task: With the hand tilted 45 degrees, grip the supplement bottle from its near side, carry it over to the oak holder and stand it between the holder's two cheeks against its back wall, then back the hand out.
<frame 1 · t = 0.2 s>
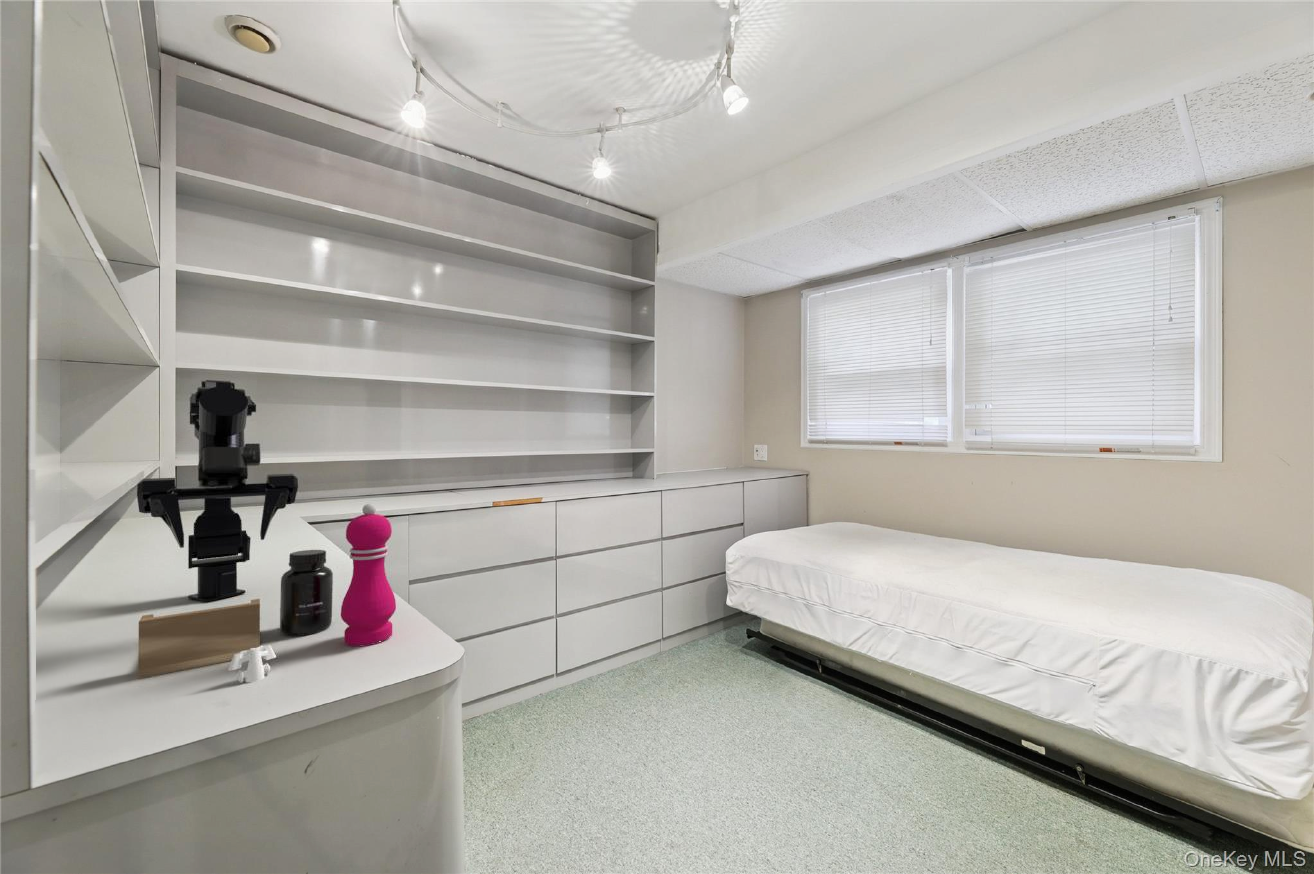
hand: (223, 542, 78), 14 cm above the worktop, tool tilted 35°, fingers open, 9 cm apart
supplement bottle: (306, 630, 83), on the worktop
pepper mill: (368, 639, 79), on the worktop
holder: (205, 651, 74), on the worktop
clip: (254, 680, 66), on the worktop
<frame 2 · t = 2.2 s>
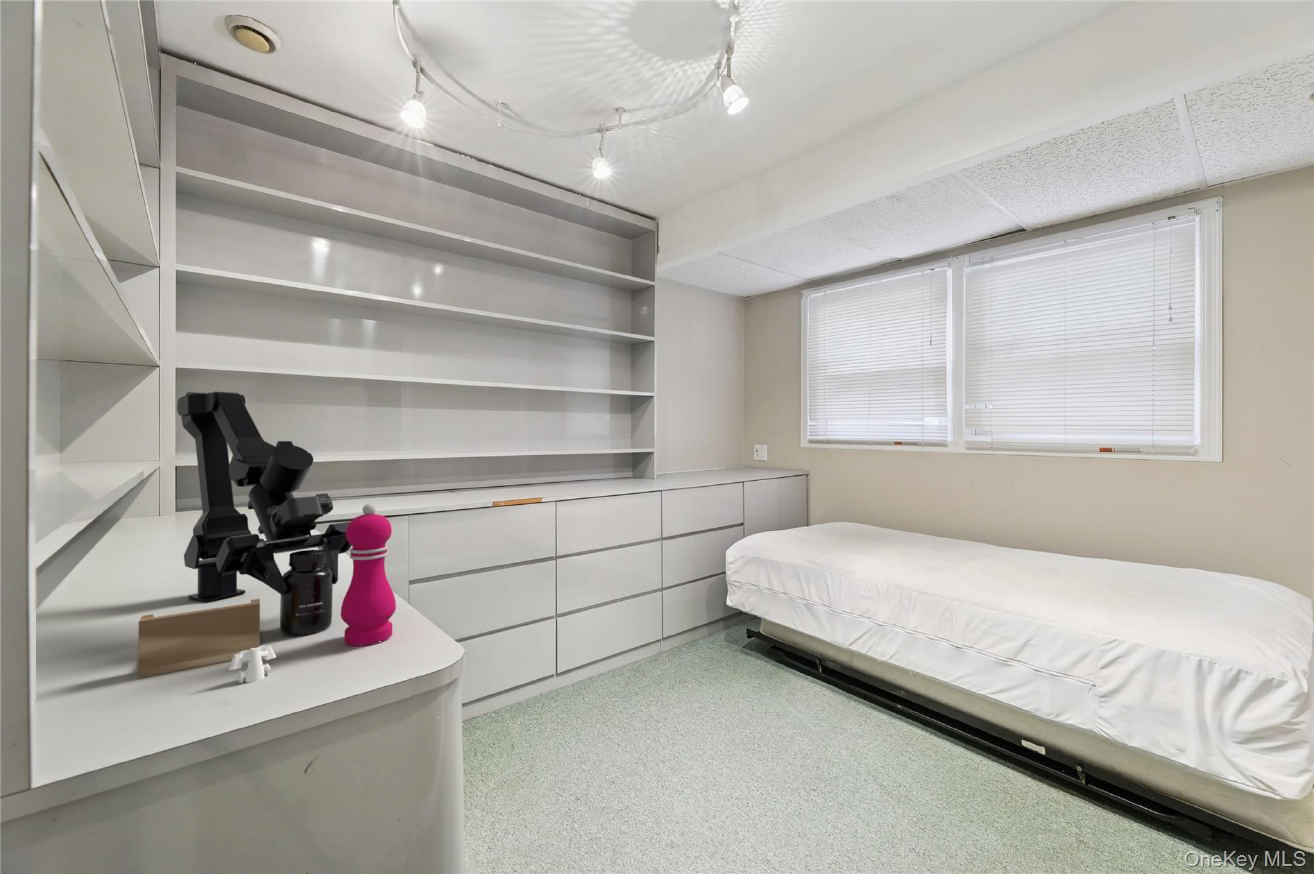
hand: (311, 587, 82), 7 cm above the worktop, tool tilted 45°, fingers closed on supplement bottle, 7 cm apart
supplement bottle: (306, 630, 83), on the worktop, touching gripper
everything else where it was.
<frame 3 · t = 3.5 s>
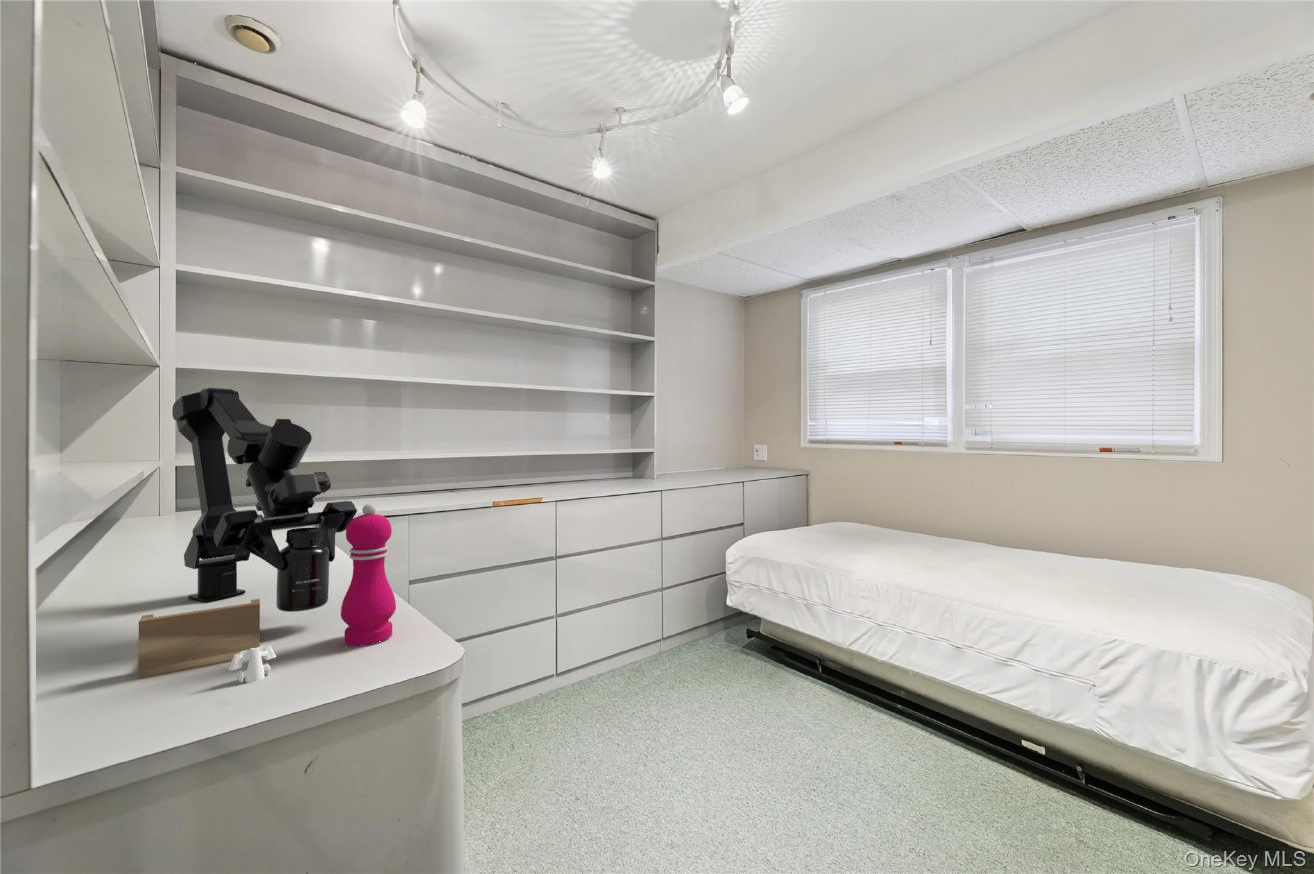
hand: (308, 564, 83), 10 cm above the worktop, tool tilted 45°, fingers closed on supplement bottle, 7 cm apart
supplement bottle: (303, 607, 84), point 3 cm above the worktop, touching gripper
everything else where it was.
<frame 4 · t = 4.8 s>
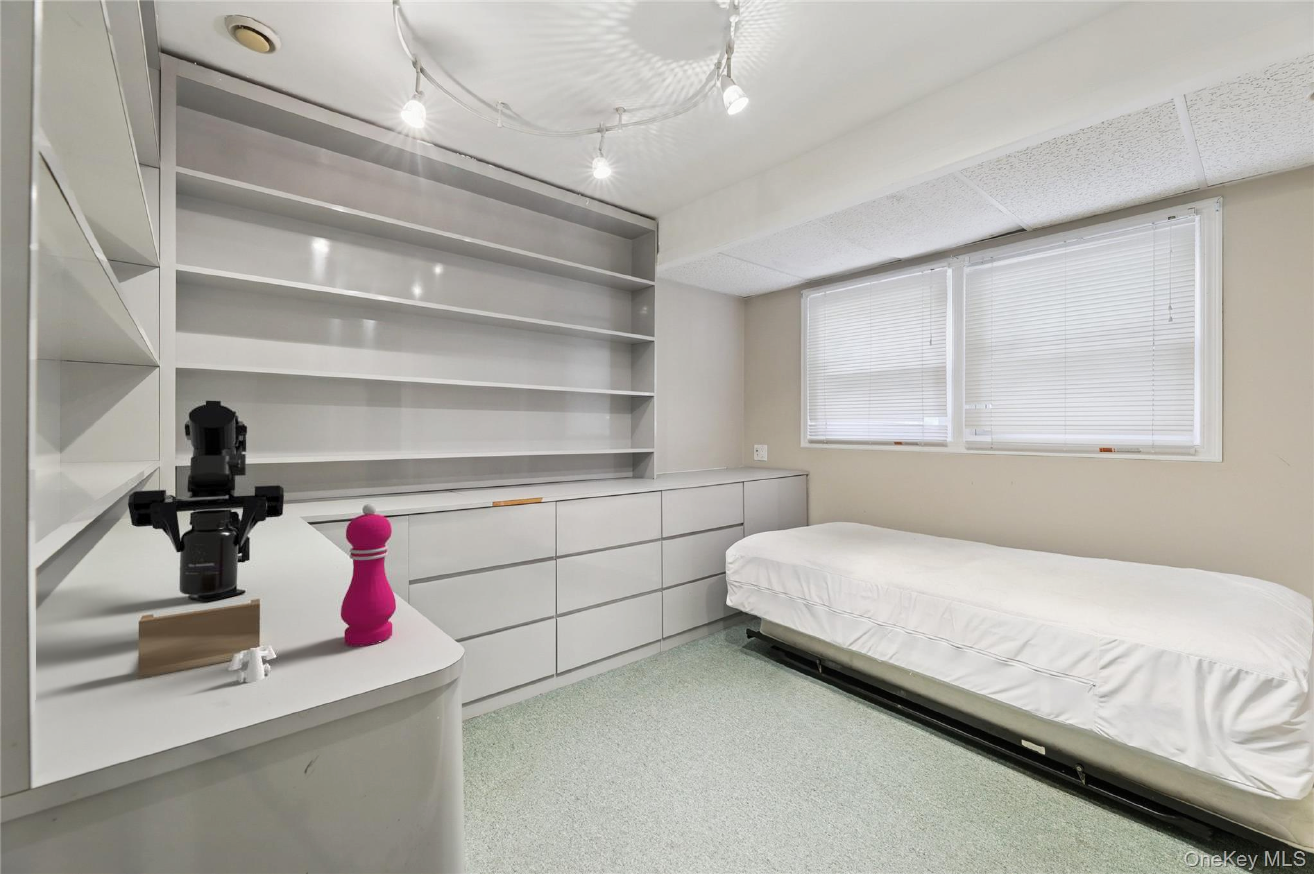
hand: (209, 547, 81), 13 cm above the worktop, tool tilted 45°, fingers closed on supplement bottle, 7 cm apart
supplement bottle: (209, 590, 82), point 6 cm above the worktop, touching gripper
everything else where it was.
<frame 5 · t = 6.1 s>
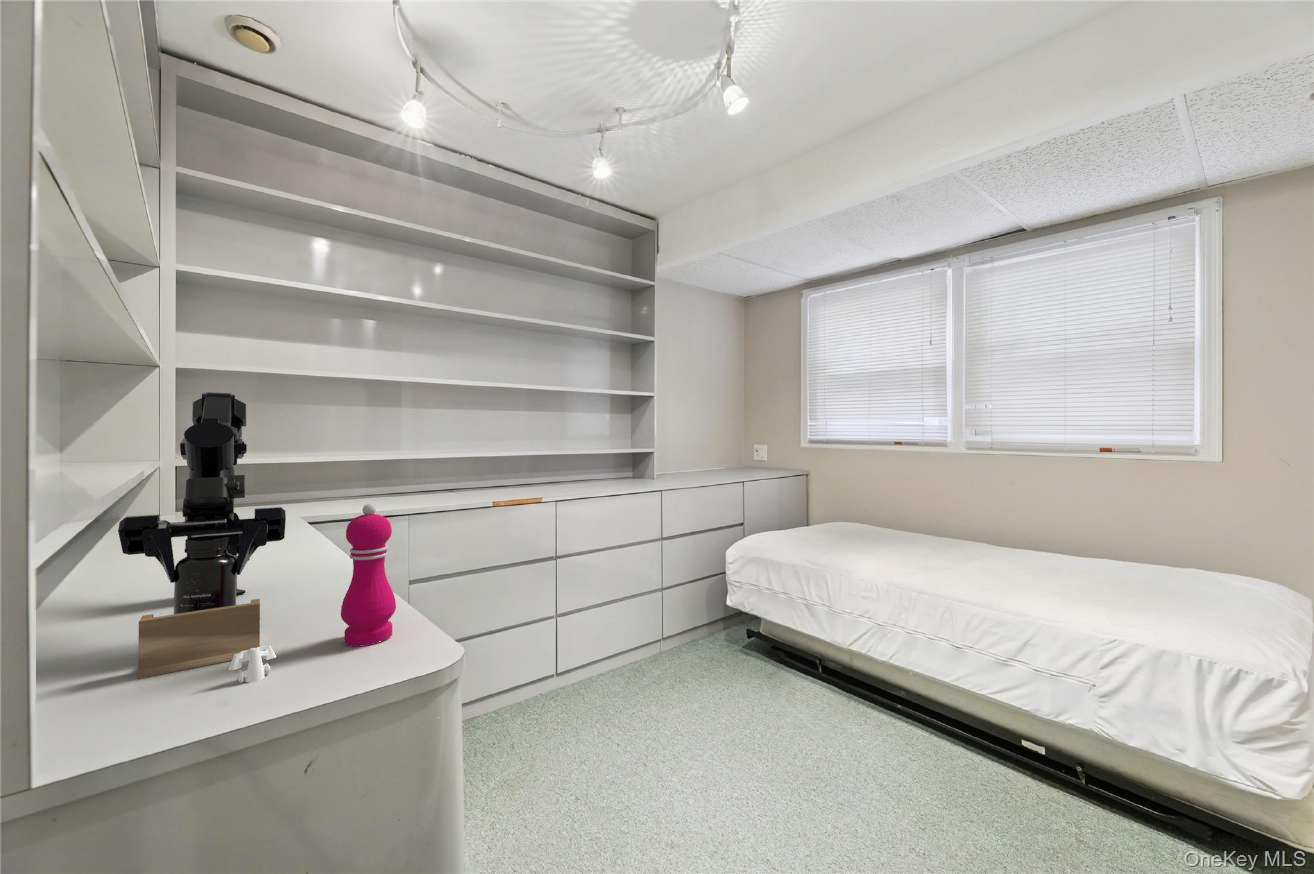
hand: (206, 577, 75), 10 cm above the worktop, tool tilted 45°, fingers closed on supplement bottle, 7 cm apart
supplement bottle: (206, 623, 76), point 3 cm above the worktop, touching gripper
everything else where it was.
when the fingers open (9 cm above the worktop, at t = 7.2 s): supplement bottle stays where it is, resting on holder.
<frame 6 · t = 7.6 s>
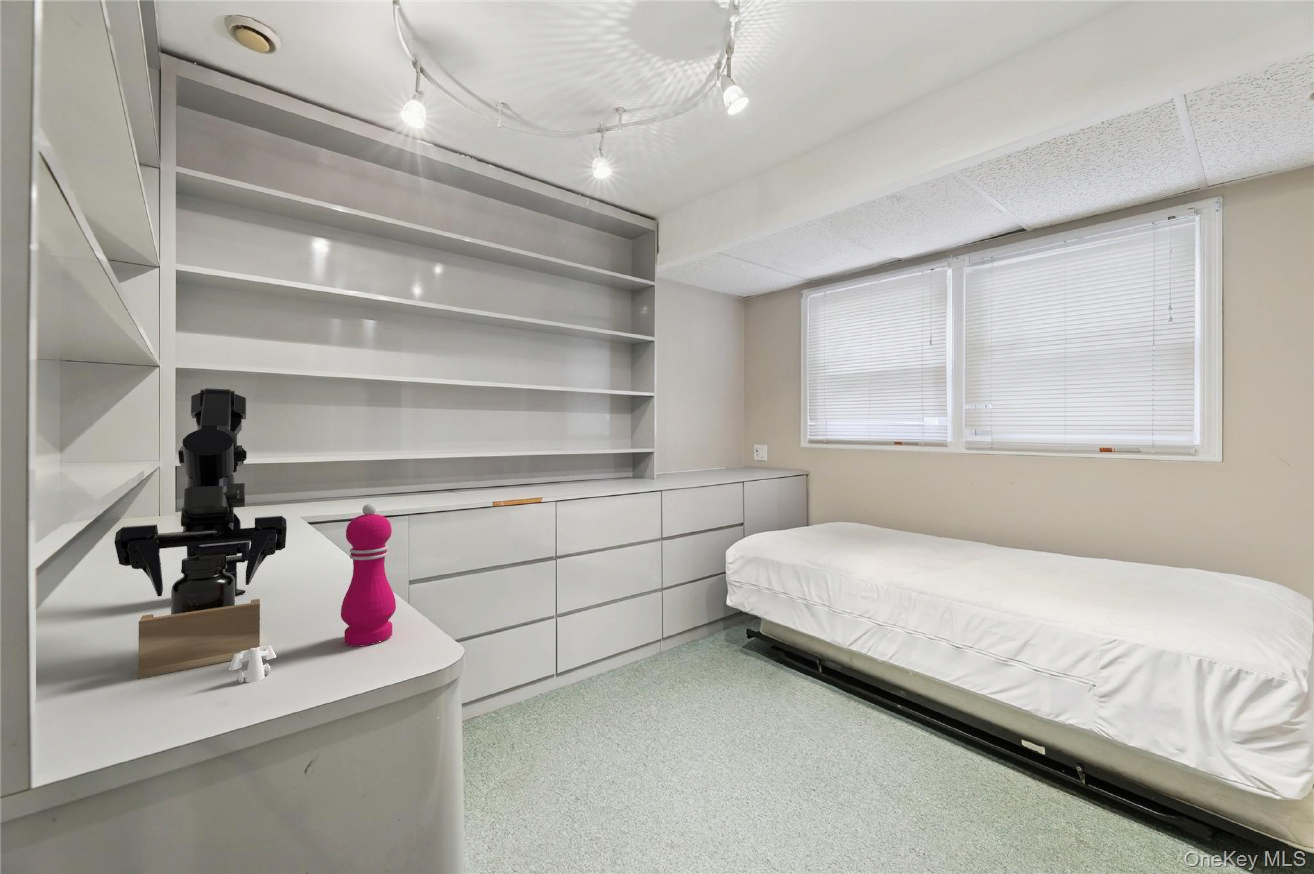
hand: (205, 588, 73), 9 cm above the worktop, tool tilted 45°, fingers open, 9 cm apart
supplement bottle: (204, 644, 74), point 1 cm above the worktop, touching holder
everything else where it was.
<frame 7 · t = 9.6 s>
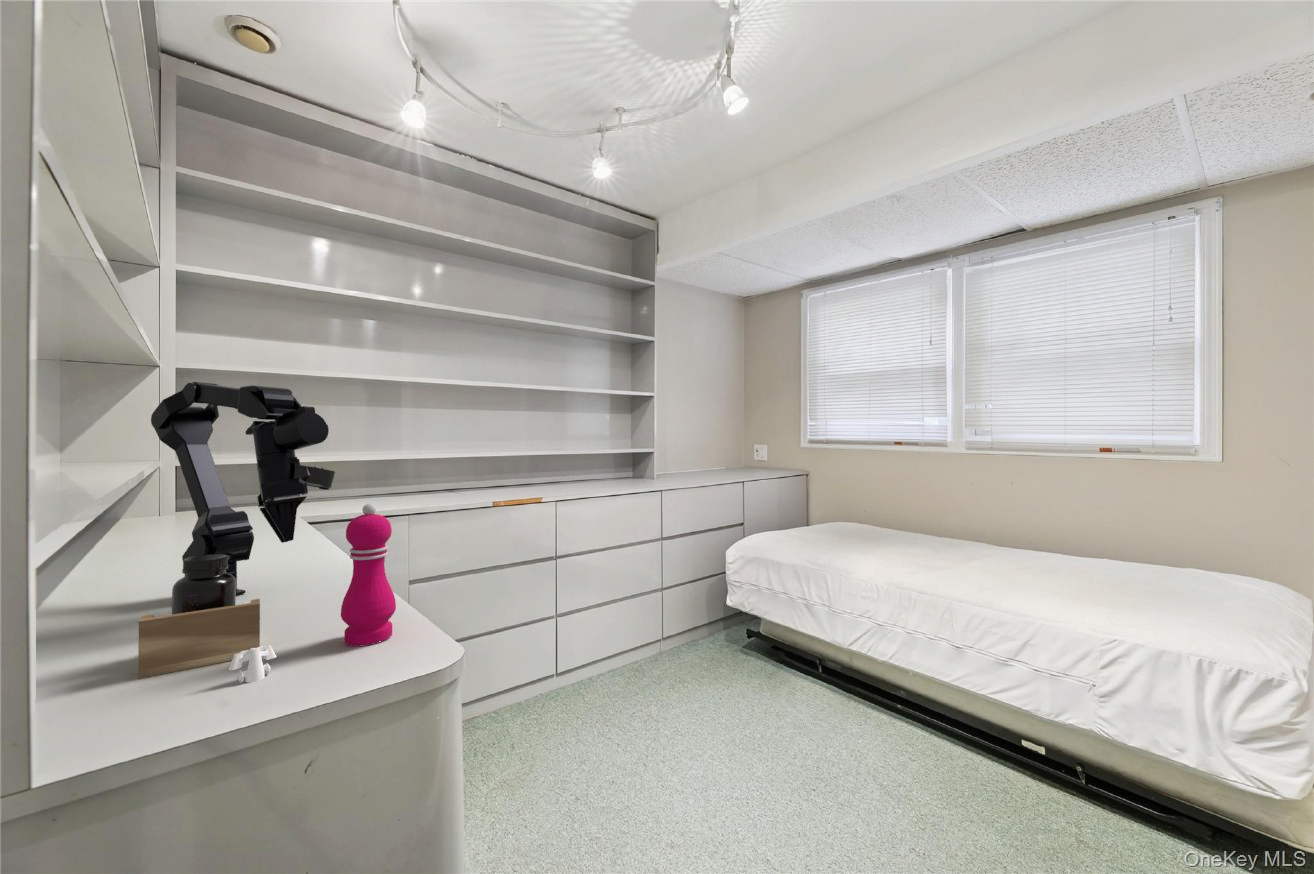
hand: (287, 541, 94), 12 cm above the worktop, tool pointing down, fingers open, 9 cm apart
nothing on the worktop moved.
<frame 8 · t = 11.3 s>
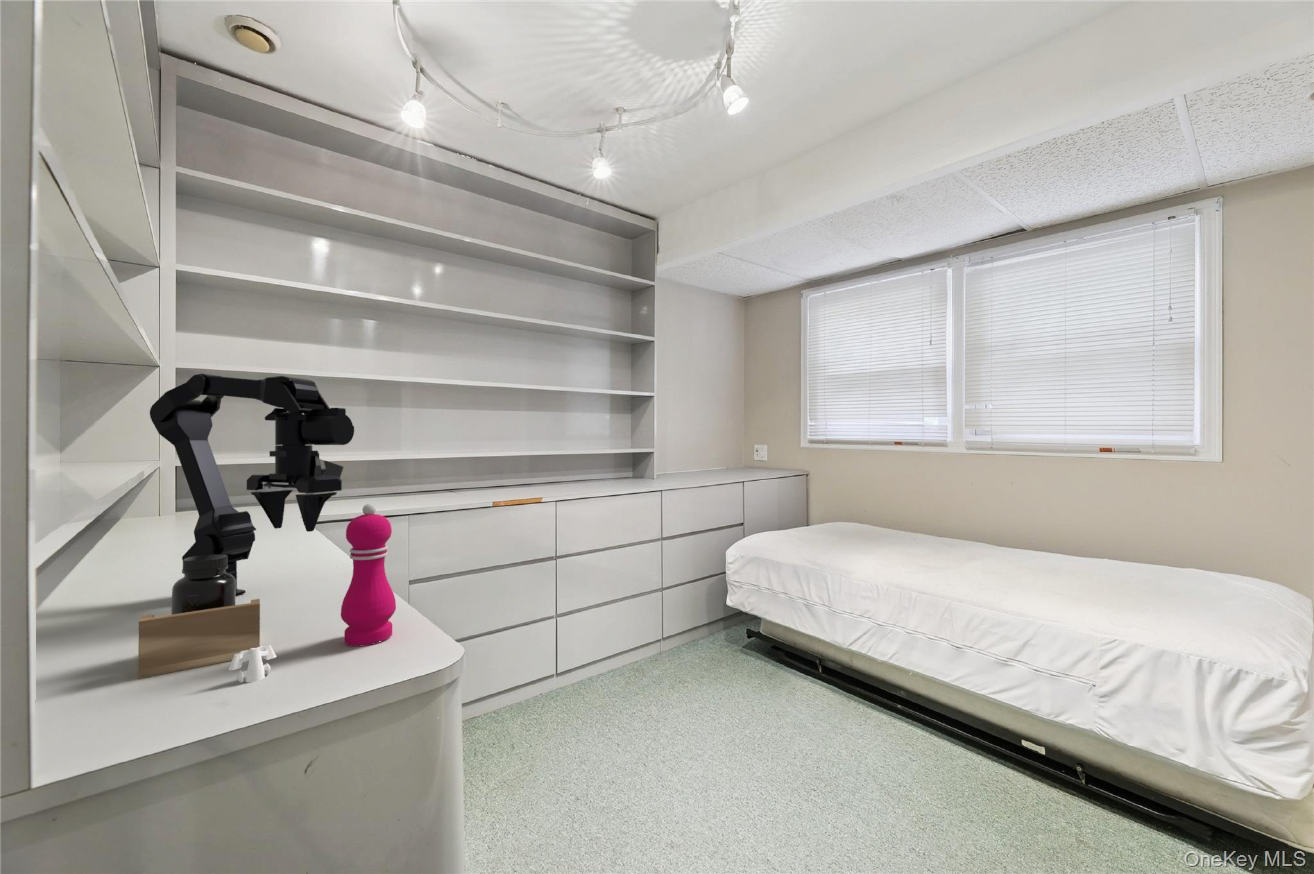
hand: (293, 529, 98), 13 cm above the worktop, tool pointing down, fingers open, 9 cm apart
nothing on the worktop moved.
at the end: supplement bottle 0.3 cm off-centre on the holder, point 0.9 cm above the holder's base; supplement bottle tilted 0°; the gripper is holding nothing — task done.
